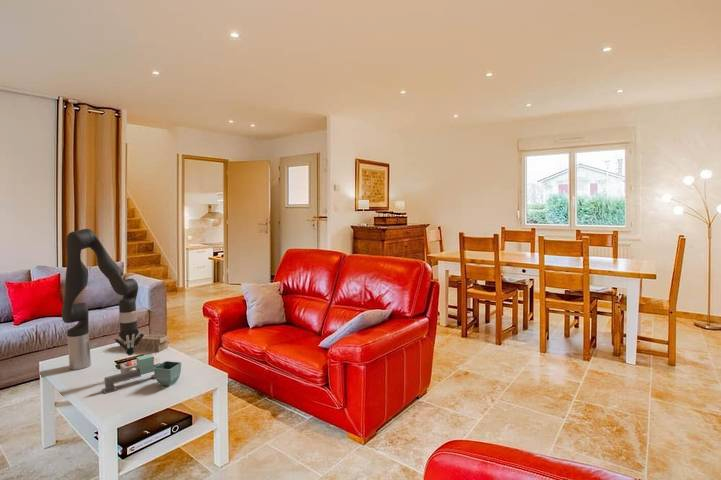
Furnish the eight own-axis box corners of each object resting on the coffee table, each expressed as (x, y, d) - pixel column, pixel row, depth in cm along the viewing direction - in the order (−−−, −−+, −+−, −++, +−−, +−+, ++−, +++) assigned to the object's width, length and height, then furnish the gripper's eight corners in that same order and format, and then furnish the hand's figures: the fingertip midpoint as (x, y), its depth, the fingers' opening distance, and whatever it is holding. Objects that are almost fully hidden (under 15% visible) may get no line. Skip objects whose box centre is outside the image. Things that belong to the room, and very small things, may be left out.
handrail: (101, 390, 187) (101, 377, 186) (162, 373, 205) (161, 361, 204) (104, 393, 183) (103, 380, 182) (165, 376, 201) (165, 364, 201)
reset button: (126, 371, 201) (125, 362, 201) (133, 369, 204) (132, 360, 203) (128, 373, 199) (127, 364, 199) (135, 371, 201) (134, 362, 201)
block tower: (118, 350, 241) (160, 352, 234) (116, 336, 240) (159, 338, 233) (128, 346, 248) (170, 348, 242) (127, 332, 248) (169, 333, 241)
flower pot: (170, 388, 188) (169, 369, 187) (153, 387, 189) (152, 368, 189) (182, 380, 196) (181, 362, 196) (166, 379, 198) (165, 360, 197)
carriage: (137, 371, 197) (136, 357, 196) (150, 367, 201) (149, 354, 200) (140, 374, 193) (139, 360, 192) (154, 370, 197) (153, 356, 197)
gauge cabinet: (121, 376, 202) (120, 364, 201) (136, 372, 207) (136, 360, 206) (125, 380, 196) (124, 368, 196) (141, 376, 201) (140, 364, 201)
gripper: (115, 324, 192) (117, 360, 194) (145, 318, 201) (147, 353, 203) (110, 321, 197) (112, 356, 199) (140, 315, 207) (142, 349, 208)
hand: (130, 354), depth 201 cm, fingers closed
